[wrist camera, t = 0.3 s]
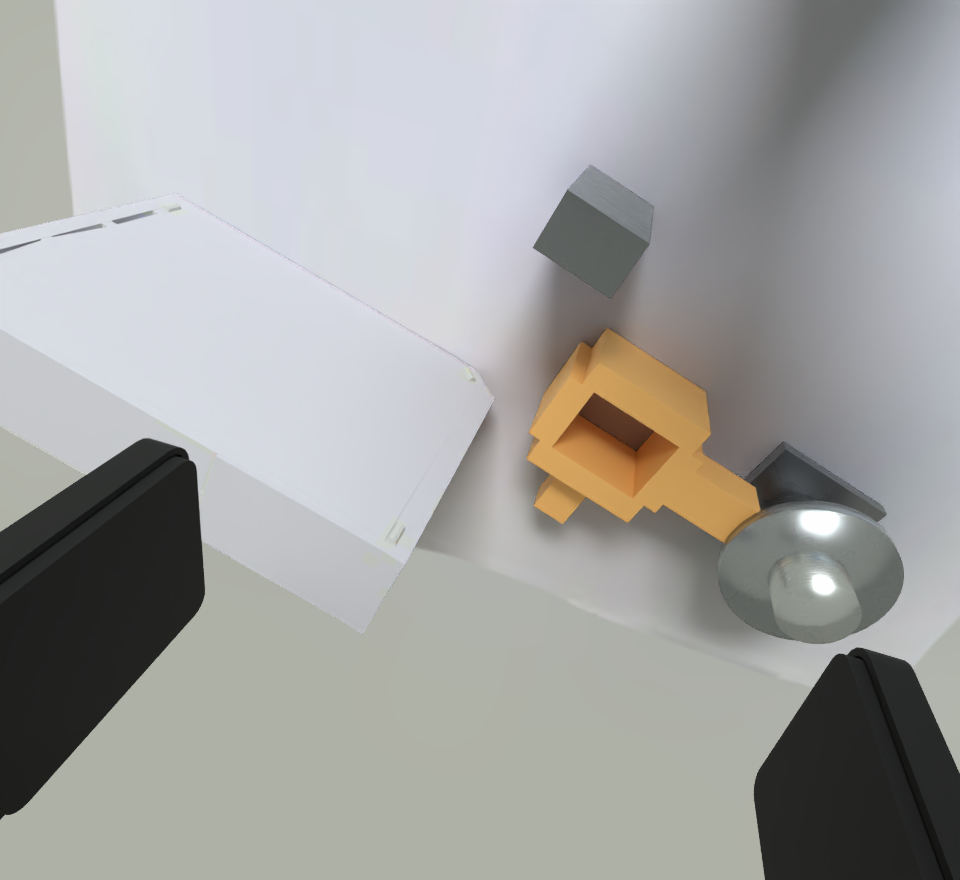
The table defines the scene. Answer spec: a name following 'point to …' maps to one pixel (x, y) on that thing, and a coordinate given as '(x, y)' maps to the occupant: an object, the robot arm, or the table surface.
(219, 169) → the table surface
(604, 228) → the rectangular block
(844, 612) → the grey disc with stub
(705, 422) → the bracket head
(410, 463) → the game console
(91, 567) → the robot arm
